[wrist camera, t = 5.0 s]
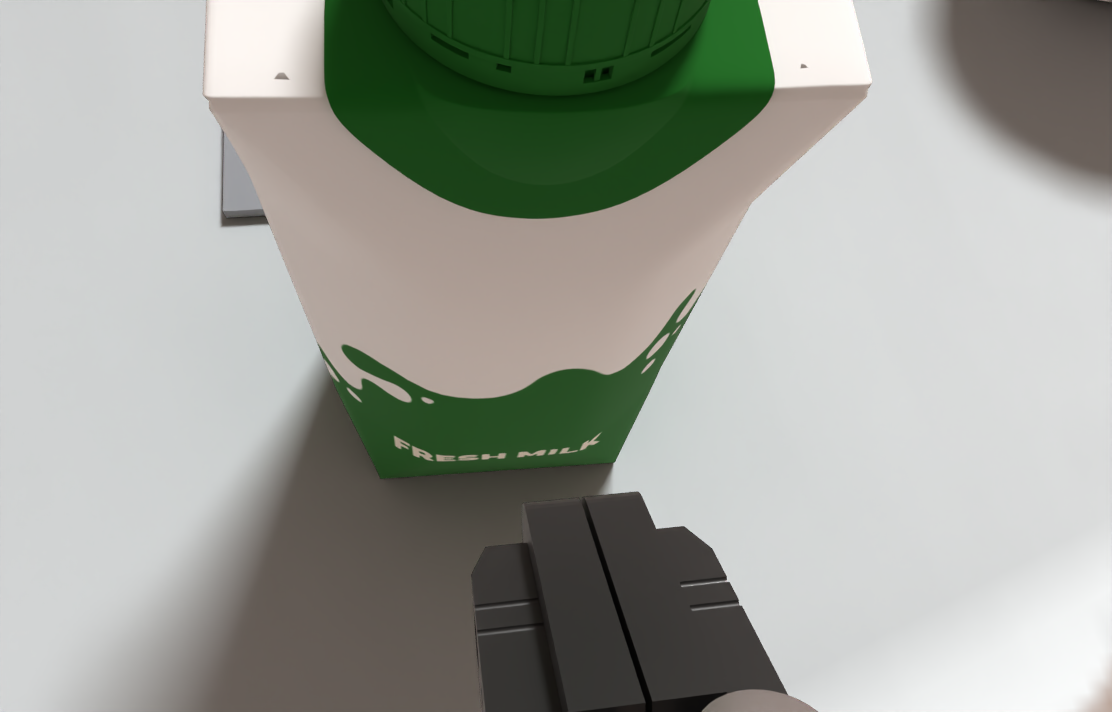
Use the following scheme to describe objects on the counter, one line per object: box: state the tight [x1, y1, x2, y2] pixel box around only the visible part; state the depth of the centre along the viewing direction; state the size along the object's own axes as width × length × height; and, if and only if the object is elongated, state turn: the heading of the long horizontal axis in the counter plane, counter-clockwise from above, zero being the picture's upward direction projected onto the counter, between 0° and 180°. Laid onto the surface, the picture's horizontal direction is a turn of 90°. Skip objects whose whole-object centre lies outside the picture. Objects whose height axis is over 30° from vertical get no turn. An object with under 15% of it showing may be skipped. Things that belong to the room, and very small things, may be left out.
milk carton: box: [203, 0, 872, 479], centre depth 19 cm, size 9×9×20 cm
